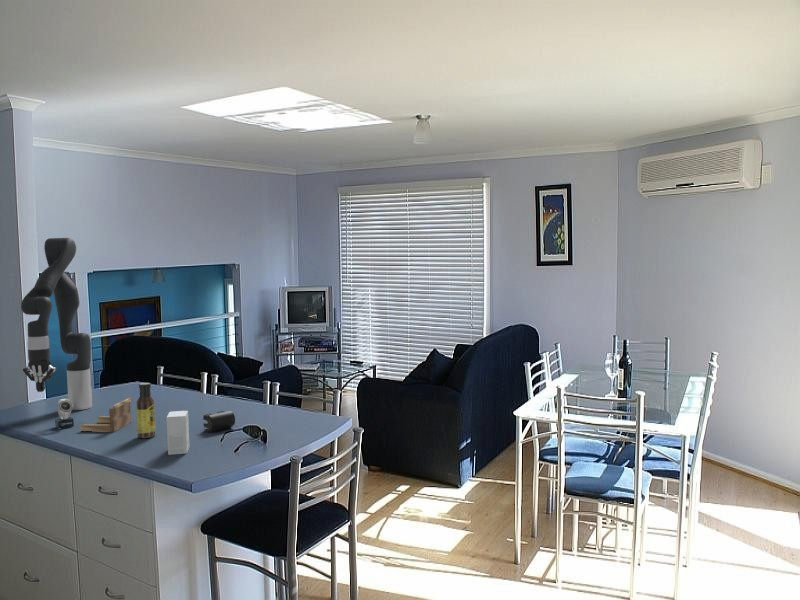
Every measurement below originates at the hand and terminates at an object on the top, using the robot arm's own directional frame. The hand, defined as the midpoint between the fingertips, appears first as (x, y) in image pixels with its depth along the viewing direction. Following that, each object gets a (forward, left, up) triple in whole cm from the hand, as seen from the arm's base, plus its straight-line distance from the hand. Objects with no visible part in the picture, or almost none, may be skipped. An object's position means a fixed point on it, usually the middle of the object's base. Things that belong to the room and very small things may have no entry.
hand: (40, 391), depth 263 cm
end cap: (+3, +72, -14) cm, 73 cm away
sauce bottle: (+13, +48, -14) cm, 52 cm away
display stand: (0, +26, -14) cm, 30 cm away
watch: (0, +9, -14) cm, 17 cm away
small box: (+30, +67, -14) cm, 75 cm away
